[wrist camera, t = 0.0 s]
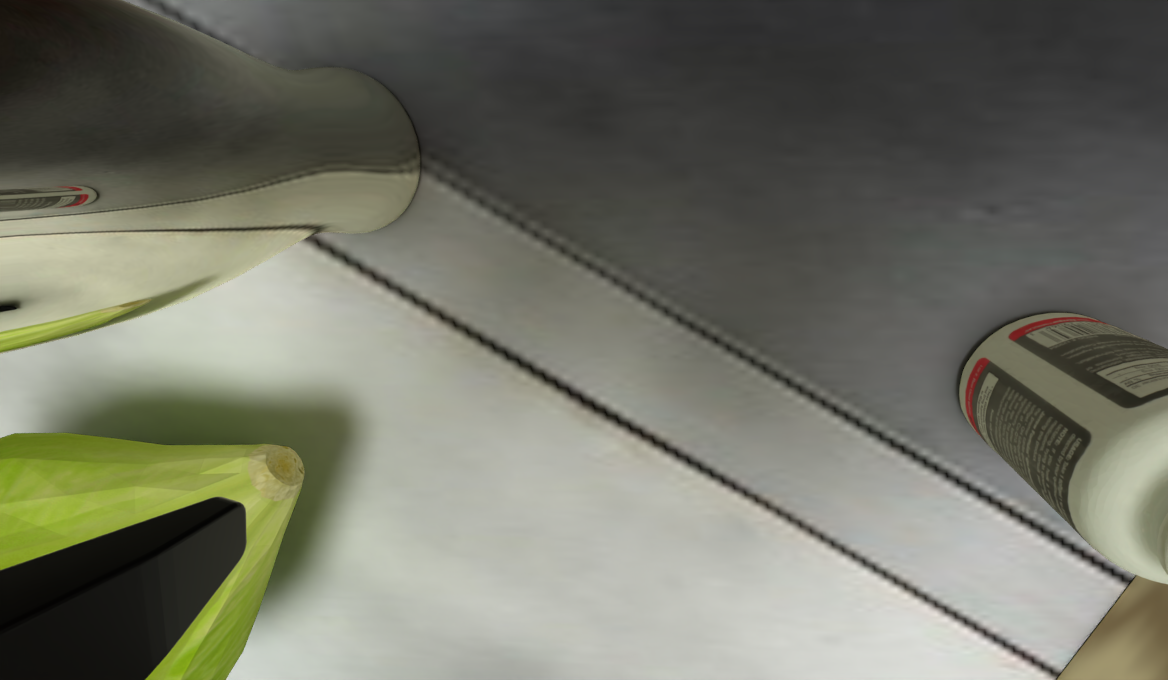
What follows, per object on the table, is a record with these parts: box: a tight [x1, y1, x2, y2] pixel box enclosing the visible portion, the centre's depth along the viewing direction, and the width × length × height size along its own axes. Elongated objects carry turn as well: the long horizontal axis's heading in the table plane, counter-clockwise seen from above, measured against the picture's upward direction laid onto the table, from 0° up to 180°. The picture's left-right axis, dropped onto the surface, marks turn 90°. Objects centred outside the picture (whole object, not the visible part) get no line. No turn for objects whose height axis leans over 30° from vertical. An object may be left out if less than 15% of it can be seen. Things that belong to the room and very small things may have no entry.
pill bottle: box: [959, 313, 1168, 584], centre depth 15 cm, size 5×5×10 cm
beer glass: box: [0, 0, 420, 354], centre depth 14 cm, size 7×7×15 cm
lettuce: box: [0, 433, 305, 680], centre depth 23 cm, size 15×22×15 cm
